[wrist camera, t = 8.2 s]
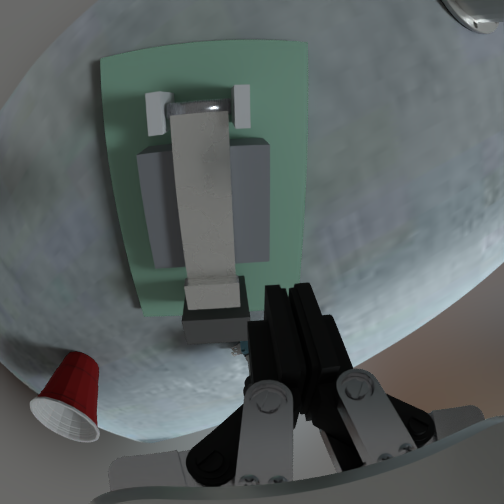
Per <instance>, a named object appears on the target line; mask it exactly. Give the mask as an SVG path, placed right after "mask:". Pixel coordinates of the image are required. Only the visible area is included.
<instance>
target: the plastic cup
mask: <svg viewBox="0 0 504 504" xmlns="http://www.w3.org/2000/svg"><path fill="white" fill-rule="evenodd" d="M98 378H99V367H98V364H97V363H96V362H95V361H94V359H92V358H91V357H89V356H88V355H86V354H84V353H81V352H76V351H75V352H70V353H69V354H68V355H67V356H66V357H65V358H64V360H63V361H62V363H61V364H60V366H59V367H58V368H57V369H56V371H55V372H54V374H53V375H52V377H51V378H50V380H49V381H48V383H47V385H46V386H45V388H44V389H43V390H42V391H41V393H40V394H39V395H38V396H37V397H35V398H34V399H33V400H32V401H31V402H30V409H31V411H32V413H33V414H34V416H35V417H36V418H37V419H38V420H39V421H40V422H41V423H42V424H43V425H44V426H46V427H47V428H49V429H50V430H52V431H53V432H55V433H57V434H59V435H61V436H63V437H66V438H68V439H72V440H75V441H79V442H93V441H96V440H98V438H99V435H100V432H99V430H98V426H97V398H98Z"/></svg>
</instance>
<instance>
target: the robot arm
mask: <svg viewBox="0 0 504 504" xmlns="http://www.w3.org/2000/svg"><path fill="white" fill-rule="evenodd" d="M442 2H443V3H444V4H445V6H446V7H447V9H448V10H449V11H450V12H451V13H452V15H453V16H454V17H455V18H456V19H457V20H458V21H459V22H460V23H461V24H463V25H464V26H465V27H466V28H468V29H470V30H471V31H473V32H476V33H479V34H490V33H492V32H494V31H495V30H496V29H497V27H498V24H499V22H504V0H442ZM247 335H248V352H249V363H250V374H251V384H252V386H250V387H249V389H248V390H247V391H246V394H245V397H244V404H242V405H241V406H240V407H239V408H238V409H237V410H236V411H235V412H234V413H233V414H231V415H230V416H229V417H228V418H227V419H226V420H225V421H224V422H222V423H221V424H220V425H219V426H218V427H217V428H216V429H214V430H213V431H212V432H211V433H210V434H209V435H207V436H206V437H205V438H204V439H203V440H201V441H200V442H199V443H198V444H197V445H195V446H194V447H193V448H192V449H191V450H187V451H181V452H178V451H177V450H175V451H170V452H162V453H154V454H146V455H136V456H126V457H121V458H117V459H116V460H114V461H113V462H112V463H111V465H110V466H109V471H108V476H109V483H110V490H111V491H110V492H107V493H105V494H102V495H100V496H98V497H96V498H94V499H93V500H92V501H91V502H90V504H504V416H496V417H492V418H488V419H486V420H485V419H484V415H483V413H482V411H481V410H480V409H479V408H478V407H476V406H473V405H472V406H471V405H469V406H463V407H456V408H449V409H442V410H434V411H432V412H431V413H426V412H425V411H423V410H420V409H418V408H416V407H414V406H412V405H409V404H407V403H405V402H403V401H401V400H399V399H396V398H394V397H392V396H390V395H388V394H386V393H385V392H384V390H383V388H382V387H381V385H380V384H379V382H378V380H377V379H376V378H375V376H374V375H373V374H371V373H370V372H368V371H365V370H363V369H353V366H352V364H351V361H350V359H349V356H348V353H347V351H346V348H345V346H344V343H343V341H342V338H341V336H340V333H339V331H338V328H337V326H336V323H335V321H334V318H333V317H332V315H322V314H321V311H320V308H319V306H318V303H317V301H316V298H315V295H314V293H313V290H312V287H311V285H310V283H295V284H294V287H292V288H289V294H288V295H287V291H286V288H281V287H280V285H265V297H264V320H260V321H247ZM299 412H300V414H305V417H306V421H310V420H312V423H313V425H314V426H316V427H318V428H319V430H320V434H321V437H322V439H323V441H324V444H325V446H326V448H327V451H328V453H329V455H330V458H331V460H332V463H333V465H334V467H335V470H336V472H337V473H335V474H331V475H326V476H321V477H315V478H309V479H304V480H297V481H293V429H294V428H295V426H296V422H297V419H298V415H299Z"/></svg>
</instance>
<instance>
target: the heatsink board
mask: <svg viewBox="0 0 504 504" xmlns="http://www.w3.org/2000/svg"><path fill="white" fill-rule="evenodd" d="M100 69H101V91H102V106H103V118H104V128H105V137H106V145H107V153H108V160H109V167H110V174H111V180H112V186H113V192H114V197H115V203H116V208H117V213H118V218H119V223H120V227H121V232H122V236H123V241H124V245H125V249H126V254H127V258H128V262H129V265H130V269H131V273H132V277H133V281H134V284H135V288H136V291H137V295H138V298H139V301H140V305H141V308H142V311H143V315H144V317H148V316H179V315H182V324H183V329H184V333H185V337H186V341H187V344H204V343H222V342H237V341H248V335H247V321H250V312H249V311H260V310H264V297H265V285H280V287H281V288H286V291H287V295H288V294H289V288H292V287H294V284H295V283H299V282H300V270H301V257H302V243H303V228H304V212H305V193H306V170H307V139H308V42H297V41H282V40H219V41H204V42H192V43H182V44H174V45H167V46H160V47H153V48H148V49H142V50H137V51H132V52H127V53H122V54H118V55H113V56H109V57H105V58H101V59H100ZM226 98H231V115H228V118H229V145H230V170H231V192H232V213H233V233H234V252H235V270H236V275H238V278H239V290H240V307H231V308H215V309H197V310H188V306H187V300H186V295H185V289H184V284H185V278H187V271H186V265H185V258H184V251H183V244H182V236H181V228H180V220H179V212H178V203H177V194H176V185H175V175H174V164H173V152H172V139H171V125H170V120H168V118H167V104H168V103H176V102H185V101H196V100H209V99H226Z"/></svg>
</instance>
